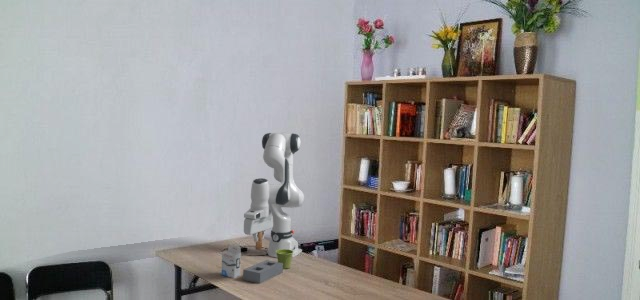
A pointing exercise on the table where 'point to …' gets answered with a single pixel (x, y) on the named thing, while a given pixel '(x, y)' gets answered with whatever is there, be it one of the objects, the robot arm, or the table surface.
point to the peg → (259, 243)
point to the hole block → (262, 271)
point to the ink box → (231, 261)
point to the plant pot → (284, 257)
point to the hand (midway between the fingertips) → (258, 240)
